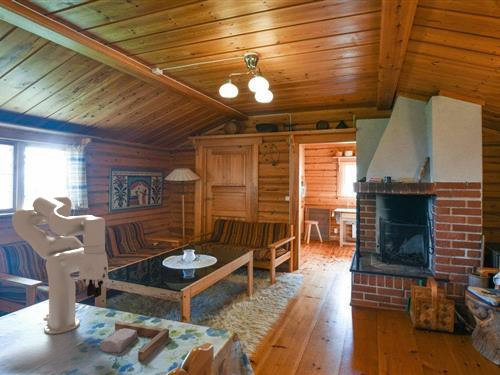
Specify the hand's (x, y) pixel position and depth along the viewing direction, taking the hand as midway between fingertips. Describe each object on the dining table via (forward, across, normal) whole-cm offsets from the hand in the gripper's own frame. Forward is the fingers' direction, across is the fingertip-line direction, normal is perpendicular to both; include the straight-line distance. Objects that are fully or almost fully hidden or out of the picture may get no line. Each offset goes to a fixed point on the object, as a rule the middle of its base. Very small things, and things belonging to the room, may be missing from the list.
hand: (94, 295), depth 118 cm
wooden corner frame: (+17, +15, +2) cm, 23 cm away
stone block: (+18, +11, 0) cm, 21 cm away
